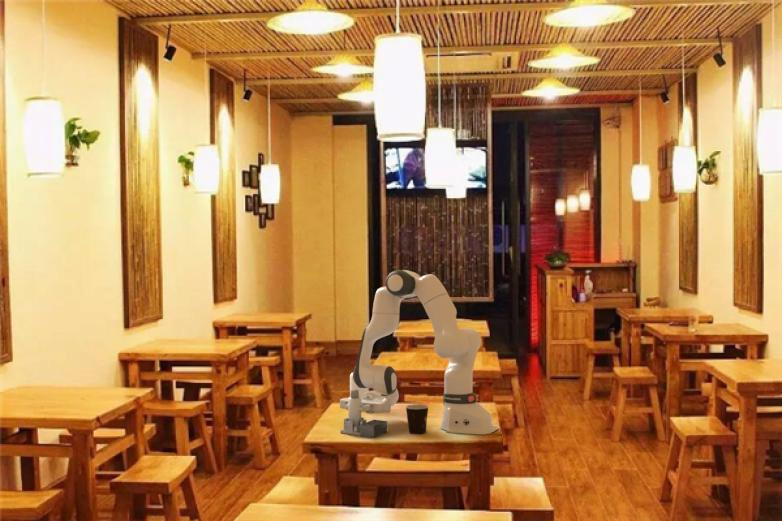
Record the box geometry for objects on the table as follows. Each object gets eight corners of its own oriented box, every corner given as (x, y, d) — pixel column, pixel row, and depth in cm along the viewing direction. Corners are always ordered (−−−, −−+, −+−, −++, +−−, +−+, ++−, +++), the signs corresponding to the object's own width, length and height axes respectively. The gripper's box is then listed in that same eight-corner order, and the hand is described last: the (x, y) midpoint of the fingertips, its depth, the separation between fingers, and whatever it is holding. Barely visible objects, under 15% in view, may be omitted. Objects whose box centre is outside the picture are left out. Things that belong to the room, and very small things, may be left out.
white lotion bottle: (363, 425, 342) (363, 389, 341) (357, 427, 338) (356, 391, 337) (353, 424, 344) (352, 388, 344) (346, 426, 340) (345, 390, 340)
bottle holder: (387, 432, 340) (387, 419, 339) (374, 438, 331) (373, 424, 331) (352, 428, 347) (352, 415, 347) (339, 433, 339) (338, 420, 339)
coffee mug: (415, 429, 345) (415, 403, 345) (433, 432, 340) (432, 406, 340) (396, 434, 336) (396, 408, 336) (414, 437, 331) (414, 411, 331)
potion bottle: (360, 410, 382) (360, 369, 382) (346, 408, 387) (345, 367, 387) (372, 407, 389) (372, 366, 388) (358, 405, 394) (357, 365, 393)
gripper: (350, 392, 357) (331, 398, 345) (393, 396, 347) (375, 402, 335) (350, 407, 357) (331, 413, 345) (394, 412, 347) (376, 418, 335)
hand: (353, 408), depth 340 cm, fingers closed on white lotion bottle, 5 cm apart
